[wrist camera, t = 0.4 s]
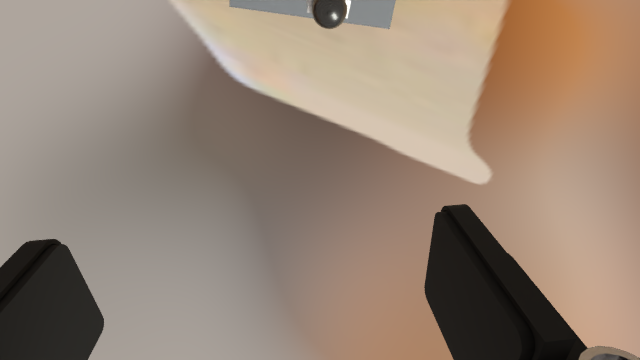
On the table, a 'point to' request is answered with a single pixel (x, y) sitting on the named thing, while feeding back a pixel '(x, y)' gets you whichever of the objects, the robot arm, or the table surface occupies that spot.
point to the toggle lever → (328, 12)
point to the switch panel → (365, 9)
